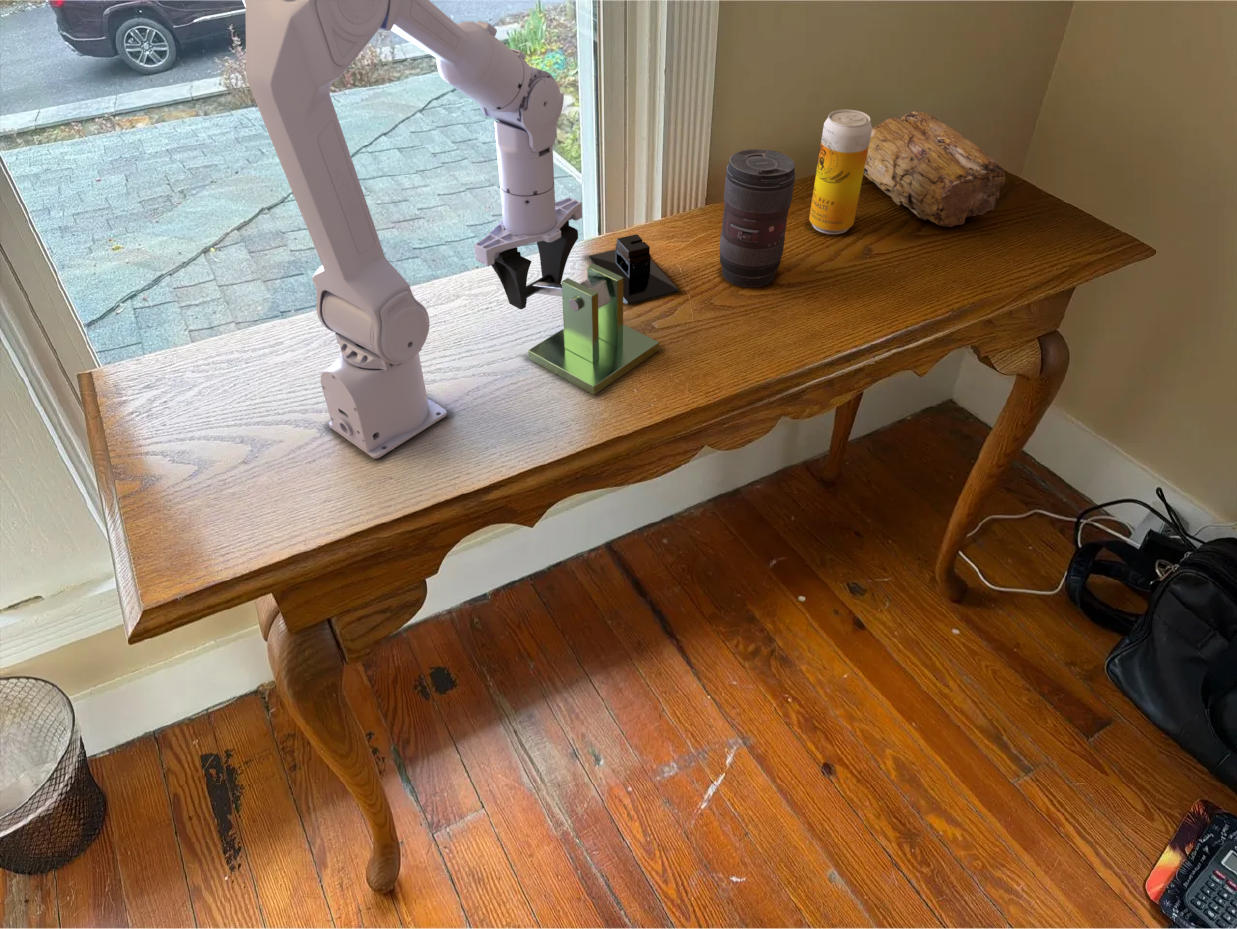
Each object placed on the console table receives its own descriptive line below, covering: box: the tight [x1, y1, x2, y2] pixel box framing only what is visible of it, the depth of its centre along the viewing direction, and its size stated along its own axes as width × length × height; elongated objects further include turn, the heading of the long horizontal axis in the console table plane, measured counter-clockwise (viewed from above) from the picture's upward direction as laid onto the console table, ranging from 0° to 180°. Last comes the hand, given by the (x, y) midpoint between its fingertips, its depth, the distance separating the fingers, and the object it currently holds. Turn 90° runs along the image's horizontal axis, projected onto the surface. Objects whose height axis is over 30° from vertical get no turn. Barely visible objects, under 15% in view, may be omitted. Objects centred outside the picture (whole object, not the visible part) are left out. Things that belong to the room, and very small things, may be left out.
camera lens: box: [719, 148, 796, 288], centre depth 110 cm, size 8×8×15 cm
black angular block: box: [588, 233, 680, 306], centre depth 113 cm, size 12×7×5 cm, turn 25°
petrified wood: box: [863, 110, 1006, 228], centre depth 127 cm, size 19×13×10 cm
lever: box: [526, 274, 611, 309], centre depth 100 cm, size 12×5×2 cm, turn 48°
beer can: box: [808, 108, 873, 235], centre depth 120 cm, size 6×6×15 cm
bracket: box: [527, 263, 660, 396], centre depth 99 cm, size 10×11×10 cm
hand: (534, 295), depth 104 cm, fingers closed on lever, 5 cm apart
